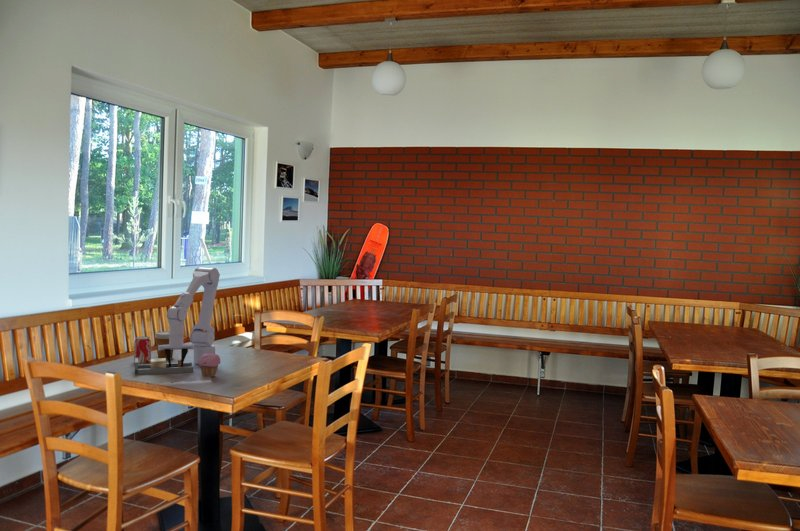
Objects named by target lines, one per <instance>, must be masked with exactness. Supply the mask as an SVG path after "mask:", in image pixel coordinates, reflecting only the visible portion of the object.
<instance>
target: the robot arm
mask: <svg viewBox="0 0 800 531" xmlns="http://www.w3.org/2000/svg"><path fill="white" fill-rule="evenodd" d="M220 275H221V274H220V272H219V270H218V269H217V267H201V266H197V267H195V269H194V271H193V272H192V280H191V281H190V283H189V285H188V287H187V289H186V290H185V292H181V294H180V295H179V297H178V298H177V300H176V302H175V303H174V304H173V305H172V306H171V307H170V308H168V309H167V311H166V312H167V313H166V314H165V316H166V319H167V322H168V324H169V344H168V345H158V350H164V352H165V354H166V356H167V359H166V360H167V363H169V367H171V363H172V362H171V360H172V358H171V350H173V351H174V350H180V351H181V352H180V353H181V358H180V359H181V367H183V363H185V359H186V357H187V355H188V352H189V350H193V364H195V365H199V359H200V357H202V355H203V354H205V353H213V354H216V345H215V344H213V343H214V342H215V338H216V337H215V336H216V335H215V330H216V329H215V328H214V327H213V326H212V325H211V324H212V317H213V311H214V306H215V301H216V296H217V289H218V286H219V281H220ZM201 286H202V288H203V295H202V300H201V306H200V311H199V316H198V322H197V323H196V324H194V325H193V326H192V329H191V332H190V334H189V341H190V342H191V343H192V344H191V343H190V344H189V343H184V331H185V330H184V329H185V328H184V327H185V326H184V322H185V320H186V319H187V317H188V312H189V308H190V306H191V305H192V304H193V302H194V295H195V294H196V293H197V291H199V289H200V288H201Z"/></svg>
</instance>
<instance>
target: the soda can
mask: <svg viewBox="0 0 800 531" xmlns="http://www.w3.org/2000/svg"><path fill="white" fill-rule="evenodd" d="M135 358H138V365H144V364H150V363H151V359H152V341H151V339H150V336H136V337H135V340H134V342H133V363H134V364H135Z"/></svg>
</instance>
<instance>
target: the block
mask: <svg viewBox="0 0 800 531" xmlns="http://www.w3.org/2000/svg"><path fill="white" fill-rule="evenodd" d="M177 363H178V366H171V367H181V358H177ZM150 364H151V368H171V367H169V366H166V364H167V359H166V358H159V359H158V358H151V362H150Z"/></svg>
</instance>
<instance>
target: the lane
mask: <svg viewBox="0 0 800 531" xmlns="http://www.w3.org/2000/svg"><path fill="white" fill-rule="evenodd" d="M166 366H169V363H168V362H166ZM171 366H178V362H171ZM193 372H194V366H193V362H183V367H171V368H151V363H143V364H139V363H138V358H135V363H134V375H135V376H136V375H139V376H140V375H156V374H157V375H159V374H175V373H193Z"/></svg>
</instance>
